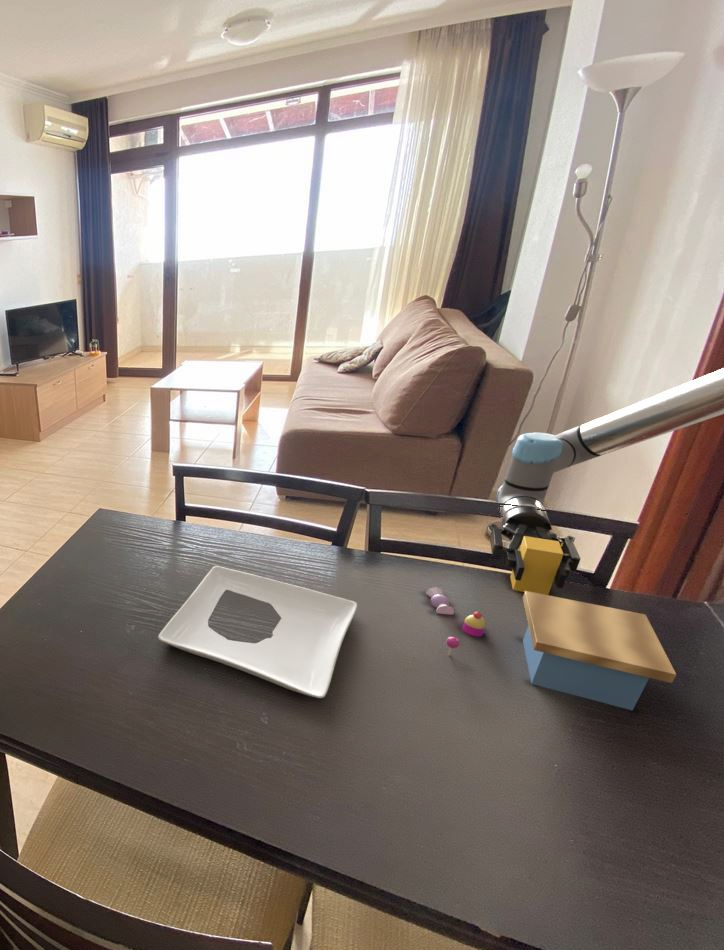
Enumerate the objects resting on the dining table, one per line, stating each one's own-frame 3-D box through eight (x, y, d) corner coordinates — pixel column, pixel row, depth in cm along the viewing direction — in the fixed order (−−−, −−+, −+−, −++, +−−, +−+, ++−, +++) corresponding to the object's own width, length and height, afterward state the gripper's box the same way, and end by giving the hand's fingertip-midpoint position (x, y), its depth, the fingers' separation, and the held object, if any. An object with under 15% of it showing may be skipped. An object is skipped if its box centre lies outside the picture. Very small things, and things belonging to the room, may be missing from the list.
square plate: (355, 617, 99) (359, 599, 97) (321, 717, 79) (324, 697, 78) (213, 577, 114) (214, 561, 112) (155, 652, 95) (155, 635, 93)
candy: (410, 597, 103) (416, 570, 100) (459, 601, 101) (467, 574, 98) (443, 662, 87) (452, 632, 85) (501, 669, 85) (512, 638, 82)
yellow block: (542, 586, 103) (558, 541, 98) (546, 600, 99) (563, 554, 95) (508, 580, 105) (523, 535, 101) (511, 593, 101) (527, 548, 97)
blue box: (611, 666, 84) (630, 625, 80) (630, 715, 76) (652, 672, 72) (521, 644, 89) (535, 605, 86) (529, 688, 81) (545, 647, 78)
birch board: (641, 622, 81) (645, 614, 80) (672, 683, 70) (676, 674, 70) (522, 598, 88) (525, 590, 87) (533, 650, 77) (536, 642, 77)
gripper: (576, 546, 110) (602, 608, 92) (467, 529, 119) (472, 582, 102) (588, 513, 107) (618, 571, 89) (476, 498, 116) (482, 548, 98)
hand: (540, 577), depth 95 cm, fingers closed on yellow block, 5 cm apart
